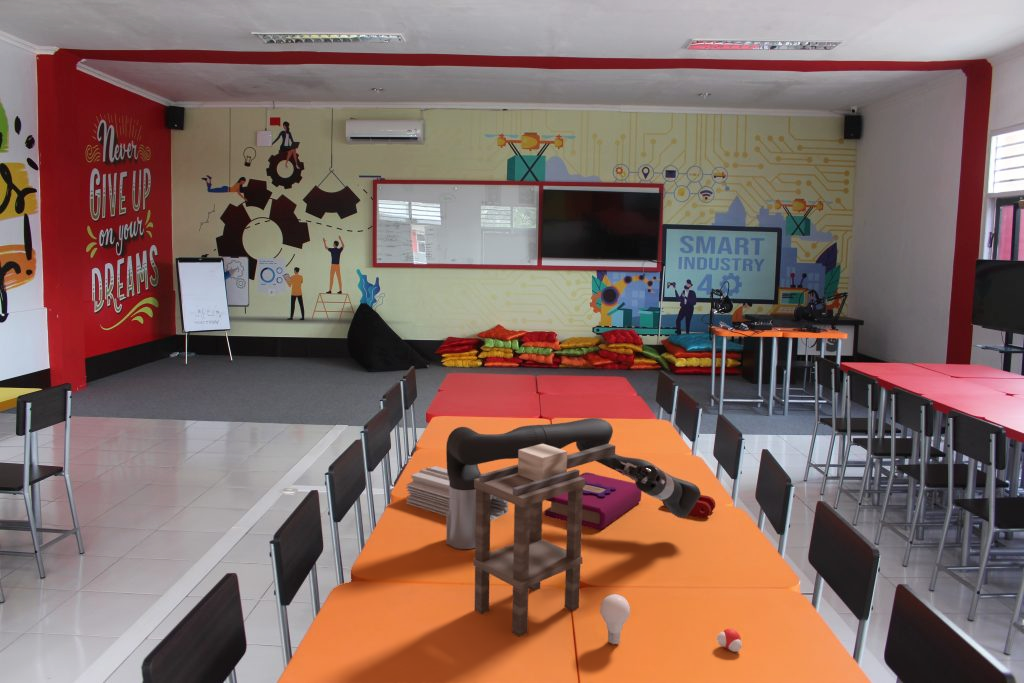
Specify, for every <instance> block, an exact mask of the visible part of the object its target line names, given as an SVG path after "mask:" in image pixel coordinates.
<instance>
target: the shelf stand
mask: <svg viewBox="0 0 1024 683" xmlns="http://www.w3.org/2000/svg"><path fill="white" fill-rule="evenodd" d="M580 473H581V472H580V470H579V469H576V468H575V469H572V470H569V471H568V470H567V472H565V473H561V474H558V475H555V476H551V477H548V478H545V479H541V480H538V481H534V480H531V479H528V478H526V477H523V476H520V475H518V464H515V465H511V466H507V467H504V468H500V469H496V470H493V471H490V472H486V473H481V475H479V478H477V479H474V488H476V528H475V548H474V549H475V550H474V552H475V553H474V558H472V559H473V563H472V565H473V566H474V611H475V612H476V613H478V614H480V615H482V614H484V613H487V612H489V611H490V575H491V576H493V577H494V578H497V579H499V580H501V581H503V582H505V583H506V584H508V585H510V586H511V587H512V618H511V619H512V622H511V632H512V634H514V635H515V636H518V637H519V638H520V637H523V636H524V635H526V634H528V624H529V623H528V621H529V620H528V618H529V616H528V615H529V590H531V591H532V592H534V591H537V590H539V589H541V582H542V581H545V580H547V579H549V578H551V577H553V576H556V575H559V574H561V573H563V572H565V581H564V582H565V583H564V591H565V592H564V608H565V609H567V610H569V611H571V612H574V611H577V609H579V608H580V585H581V583H580V582H581V565H582V564H583V557H582V554H581V553H582V532H583V531H582V528H583V527H582V502H583V487H585V478H582V477H579V476H580ZM565 493H568V513H567V521H566V547H565V548H566V549H565V548H563V547H560V546H559V545H556V544H554V543H552V542H549V541H547V540H545V539H543V536H542V533H543V502H544V501H546V500H547V499H550V498H553V497H556V496H559V495H562V494H565ZM491 495H493V496H495V497H498V498H500V499H503V500H505V501H508V503H510V504H512V505H514V513H513V515H514V516H513V517H514V521H513V543H511V544H508V545H506V546H504V547H503V546H502V547H501V548H498V549H495V550H493V551H491V521H490V505H491Z"/></svg>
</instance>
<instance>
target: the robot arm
mask: <svg viewBox="0 0 1024 683" xmlns="http://www.w3.org/2000/svg"><path fill="white" fill-rule="evenodd" d="M613 433H614V431H613V427H612V425H611V423H609V421H607V420H605V419H602V418H598V417H590V418H583V419H579V420H573V421H568V422H560V423H559V422H558V423H551V424H548V423H547V424H533V425H532V424H531V425H524V426H523V425H522V426H519V427H517V428H514V429H512V430H510V431H507V432H504V433H498V434H497V433H495V434H494V433H492V434H486V433H479V432H477V431H475V430H474V429H473V428H470V427H466V426H459V427H456V428H455V429H453V430H452V431H451V432H450V433H449V435H448V438H447V440H446V451H445V453H446V457H445V458H446V469H447V473H448V477H449V511H448V512H447V516H446V534H445V535H446V542H445V543H446V545H448V546H450V547H452V548H455V549H459V550H471V549H475V528H476V488H474V479H477V478H479V475H481V474H482V473H481V471H480V469H479V465H480V464H486V463H489V462H495V461H499V460H500V461H501V460H512V459H513V460H514V459H518V450H520V449H524V448H528V447H532V446H535V445H539V444H546V445H549V446H552V447H555V448H558V449H563V448H565V447H567V446H569V445H571V444H573V443H575V445H576V448H577V450H578V452H580V451H584V450H587V449H591V448H594V447H598V446H601V445H605V444H610V442H611V439H612V437H613ZM595 462H597V463H598V464H601V465H602V466H605V467H607V468H609V469H611V470H614V471H616V472H618V473H619V474H621V475H623V476H625V477H628V478H629V479H631V480H632V481H634V483H636V486H637V488H638V489H639V490H641V491H642V492H643V493H645V494H646V495H648V496H650V497H652V498H654V499H657V500H659V501H661V502H662V503H663V502H664V503H665V505H666V507H667V509H668V511H669V512H670V513H671V514H672V515H674V516H675V517H677V518H687V516H689V515H688V514H689V513H690V512H691V510H692V508H693V507H694V505H695V504H696V502H697V501H698V499H699V498H700V495H702V494H701V491H700V488H699V487H698V486H697V485H696V484H694V483H693V482H690V481H688V480H684V479H682V478H678V477H676V476H675V477H674V476H673V475H671V474H669V473H667V472H665V471H663V469H661V468H659V467H657V466H656V465H655V464H653V463H651V462H650V461H648V460H645V459H641V458H634V457H628V456H627V457H626V456H622V455H619V454H616V453H615V455H613V456H610V457H606V458H603V459H599V460H596V461H595ZM642 492H641V493H642ZM666 507H665V508H666Z"/></svg>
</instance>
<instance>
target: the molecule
mask: <svg viewBox="0 0 1024 683" xmlns="http://www.w3.org/2000/svg"><path fill="white" fill-rule="evenodd" d="M716 636H717V637H716V640H717V643H718V644H719V646H721V647H723V648H725V649H727V650H729V651H731V652H733V653H737V652H739V651H740V650H741V649H742V647H743V646H742V644H743V643H742V640H741V635H740V634H739V633H738V631H736V630H735V629H733V628H726V629H725V630H723V631H720V632H719V633H718V634H717V635H716Z"/></svg>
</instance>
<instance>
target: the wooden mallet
mask: <svg viewBox="0 0 1024 683" xmlns="http://www.w3.org/2000/svg"><path fill="white" fill-rule="evenodd" d="M615 454H616V445H614V444H611V443H609V444H605V445H601V446H598V447H594V448H591V449H587V450H584V451H577V452H573V453H570V454H568V451H567V450H564V449H563V448H561V449H558V448H555V447H552V446H549V445H546V444H539V445H535V446H532V447H528V448H524V449H520V450H518V458H517V460H518V462H517V465H518V475H520V476H523V477H526V478H528V479H531V480H534V481H538V480H541V479H545V478H548V477H551V476H555V475H558V474H561V473H565V472H568V469H573V468H575V467H578V466H583V465H586V464H589V463H592V462H597V461H596V460H599V459H603V458H606V457H610V456H613V455H615Z"/></svg>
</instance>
